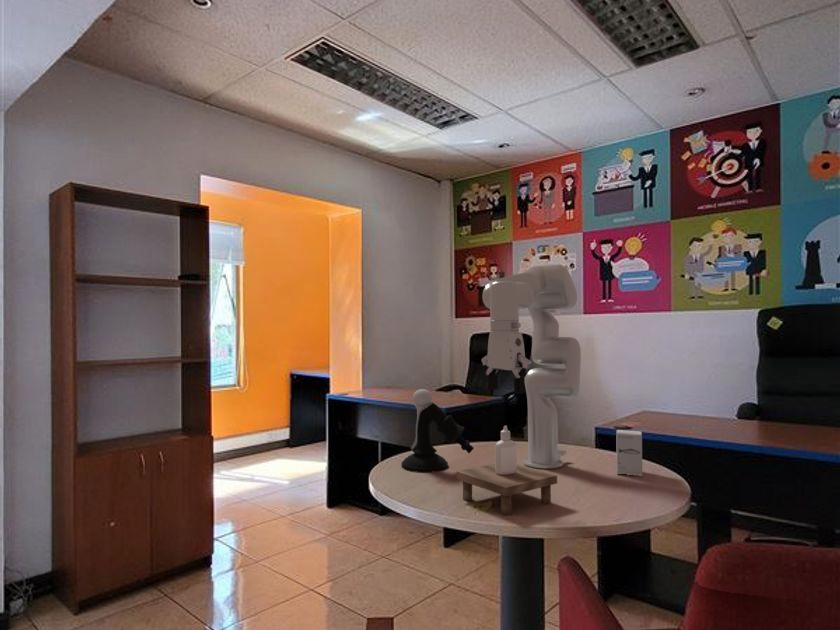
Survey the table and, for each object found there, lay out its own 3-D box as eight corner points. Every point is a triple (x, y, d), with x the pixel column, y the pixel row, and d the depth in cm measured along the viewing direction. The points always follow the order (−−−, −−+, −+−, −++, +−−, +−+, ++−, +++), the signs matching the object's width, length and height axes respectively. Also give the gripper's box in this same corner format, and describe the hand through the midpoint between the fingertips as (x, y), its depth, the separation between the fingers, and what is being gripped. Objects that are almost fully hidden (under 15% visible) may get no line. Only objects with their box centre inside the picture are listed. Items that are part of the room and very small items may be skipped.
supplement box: (616, 475, 157) (615, 433, 157) (617, 469, 164) (616, 429, 164) (643, 477, 154) (642, 434, 154) (642, 471, 161) (641, 430, 161)
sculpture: (408, 459, 177) (408, 386, 178) (477, 463, 172) (476, 387, 173) (395, 470, 162) (395, 390, 163) (470, 475, 157) (469, 392, 158)
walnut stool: (506, 486, 145) (505, 461, 145) (557, 503, 130) (557, 475, 130) (456, 498, 134) (456, 471, 134) (506, 518, 120) (506, 487, 120)
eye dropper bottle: (518, 475, 130) (517, 427, 131) (496, 475, 130) (495, 427, 131) (515, 470, 135) (514, 424, 135) (493, 471, 135) (493, 424, 135)
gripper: (539, 326, 133) (540, 393, 133) (492, 327, 147) (493, 387, 147) (518, 327, 129) (520, 396, 129) (472, 327, 143) (473, 389, 143)
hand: (505, 391), depth 138 cm, fingers open, 9 cm apart
